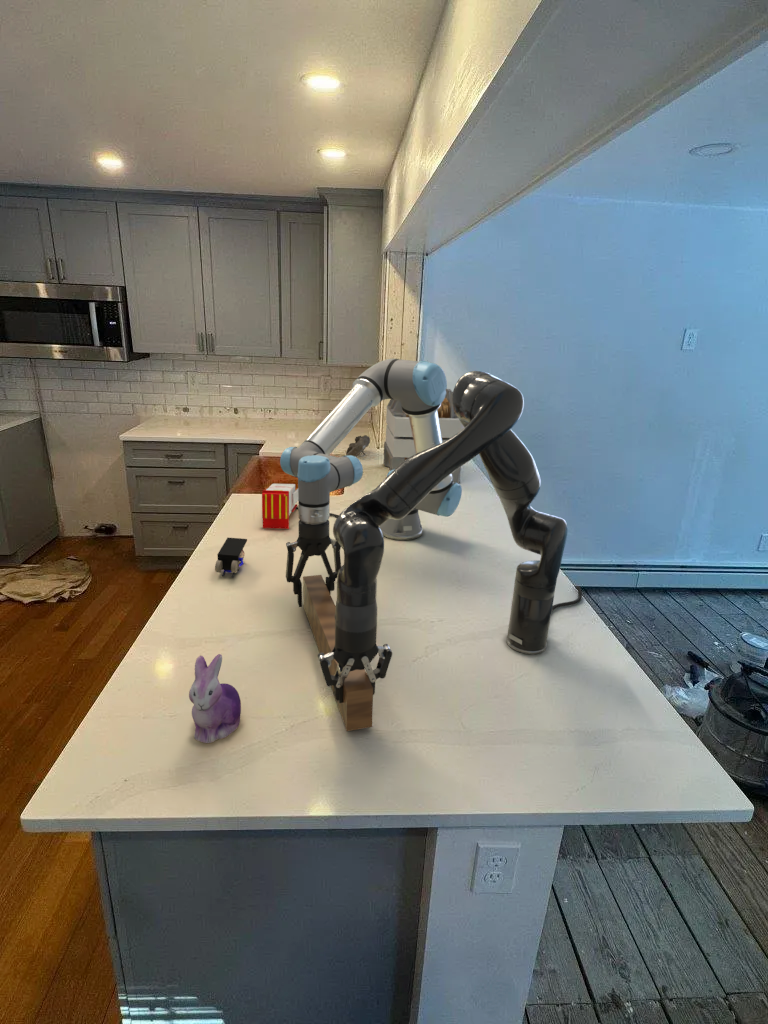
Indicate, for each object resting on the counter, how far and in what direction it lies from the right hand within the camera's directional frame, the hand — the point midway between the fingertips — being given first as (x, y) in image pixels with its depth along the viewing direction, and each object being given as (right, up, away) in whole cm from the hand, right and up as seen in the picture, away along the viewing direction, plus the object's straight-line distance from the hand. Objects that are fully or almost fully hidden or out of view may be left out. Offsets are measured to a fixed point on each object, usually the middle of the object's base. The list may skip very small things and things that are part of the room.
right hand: (354, 697), depth 107 cm
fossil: (-9, +66, +197) cm, 208 cm away
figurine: (-25, -5, -2) cm, 26 cm away
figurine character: (-39, +18, +60) cm, 74 cm away
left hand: (-13, +12, +39) cm, 42 cm away
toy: (-33, +34, +105) cm, 115 cm away
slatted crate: (+23, +54, +168) cm, 178 cm away
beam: (-6, +3, +20) cm, 21 cm away
